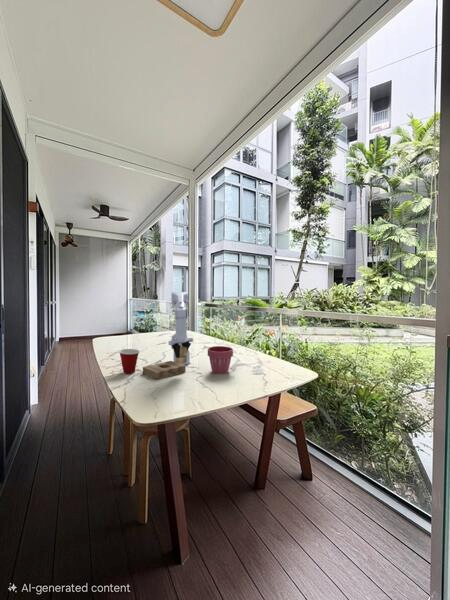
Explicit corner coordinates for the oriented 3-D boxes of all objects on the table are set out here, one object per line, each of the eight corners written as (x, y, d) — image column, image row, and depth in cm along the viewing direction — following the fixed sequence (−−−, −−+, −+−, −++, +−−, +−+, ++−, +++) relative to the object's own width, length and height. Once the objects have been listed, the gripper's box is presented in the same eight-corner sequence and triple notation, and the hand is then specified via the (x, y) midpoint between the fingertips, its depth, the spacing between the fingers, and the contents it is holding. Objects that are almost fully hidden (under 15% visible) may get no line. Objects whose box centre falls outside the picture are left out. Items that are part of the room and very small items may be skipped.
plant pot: (230, 376, 138) (231, 352, 138) (204, 374, 141) (205, 350, 140) (234, 368, 152) (234, 346, 152) (210, 367, 155) (210, 345, 154)
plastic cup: (135, 375, 138) (135, 352, 138) (115, 375, 139) (115, 352, 138) (142, 369, 149) (142, 348, 149) (123, 369, 149) (123, 348, 149)
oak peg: (181, 360, 142) (181, 346, 141) (186, 362, 139) (186, 347, 139) (175, 362, 139) (175, 347, 138) (180, 363, 136) (180, 348, 136)
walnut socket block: (170, 366, 155) (170, 360, 155) (185, 371, 145) (185, 365, 145) (142, 373, 142) (142, 366, 142) (157, 379, 132) (157, 372, 132)
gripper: (174, 333, 130) (174, 360, 131) (196, 330, 141) (196, 355, 141) (166, 332, 135) (166, 358, 136) (188, 329, 146) (188, 353, 146)
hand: (181, 356), depth 139 cm, fingers closed on oak peg, 4 cm apart
